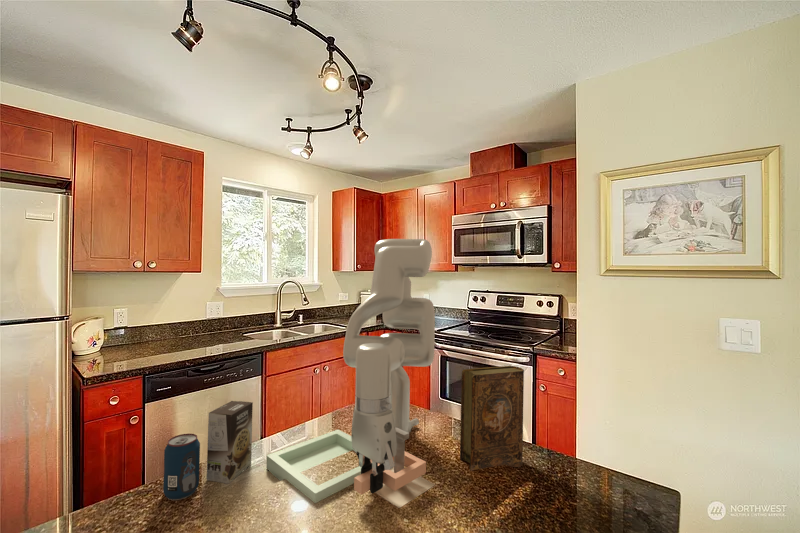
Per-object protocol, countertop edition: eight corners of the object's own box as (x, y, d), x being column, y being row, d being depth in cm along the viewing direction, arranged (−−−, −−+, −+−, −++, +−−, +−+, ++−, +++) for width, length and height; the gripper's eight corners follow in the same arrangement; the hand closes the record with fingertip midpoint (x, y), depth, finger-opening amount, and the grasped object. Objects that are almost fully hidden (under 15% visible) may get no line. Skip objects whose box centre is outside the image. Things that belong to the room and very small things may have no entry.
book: (512, 456, 102) (514, 365, 102) (525, 466, 97) (527, 370, 97) (459, 465, 97) (461, 369, 97) (470, 476, 91) (472, 375, 92)
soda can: (176, 483, 87) (177, 431, 87) (205, 484, 86) (206, 432, 86) (155, 501, 80) (156, 445, 80) (187, 502, 79) (188, 446, 79)
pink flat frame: (395, 456, 92) (395, 446, 92) (425, 472, 85) (426, 461, 85) (342, 481, 80) (343, 470, 80) (373, 503, 73) (374, 490, 73)
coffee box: (229, 484, 86) (231, 415, 87) (205, 480, 88) (206, 412, 88) (252, 464, 95) (253, 401, 95) (230, 461, 97) (231, 399, 97)
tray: (337, 441, 109) (338, 429, 109) (389, 470, 93) (390, 456, 93) (266, 469, 93) (266, 455, 93) (314, 510, 78) (315, 493, 78)
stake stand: (398, 470, 93) (399, 416, 94) (435, 491, 85) (436, 431, 85) (361, 490, 85) (362, 430, 85) (399, 515, 77) (400, 449, 77)
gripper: (412, 408, 76) (410, 496, 77) (362, 388, 88) (361, 465, 88) (386, 418, 71) (384, 513, 71) (336, 396, 82) (335, 478, 82)
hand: (371, 486), depth 80 cm, fingers closed on pink flat frame, 2 cm apart
